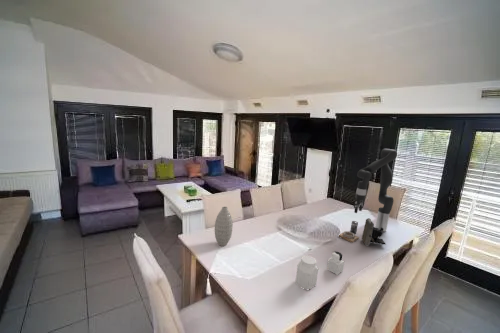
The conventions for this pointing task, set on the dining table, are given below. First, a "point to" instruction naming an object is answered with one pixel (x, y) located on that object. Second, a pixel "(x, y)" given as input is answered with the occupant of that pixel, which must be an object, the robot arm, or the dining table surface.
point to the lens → (354, 227)
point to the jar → (307, 272)
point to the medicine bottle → (336, 263)
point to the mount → (348, 236)
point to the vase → (223, 227)
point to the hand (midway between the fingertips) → (357, 211)
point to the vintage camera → (371, 233)
